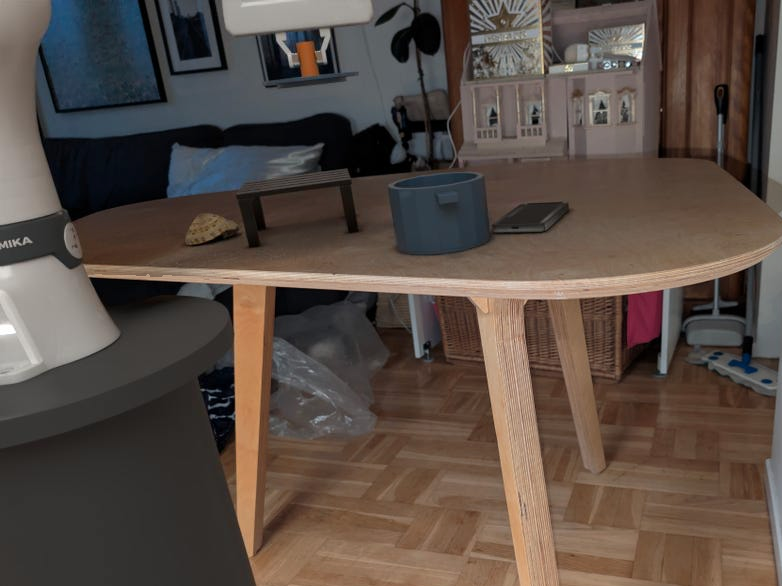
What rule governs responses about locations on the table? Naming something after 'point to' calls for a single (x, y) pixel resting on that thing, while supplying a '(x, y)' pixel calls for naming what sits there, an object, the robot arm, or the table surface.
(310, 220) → the table surface
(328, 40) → the robot arm
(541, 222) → the phone
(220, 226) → the seashell
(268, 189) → the rack
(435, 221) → the pot
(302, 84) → the lid
